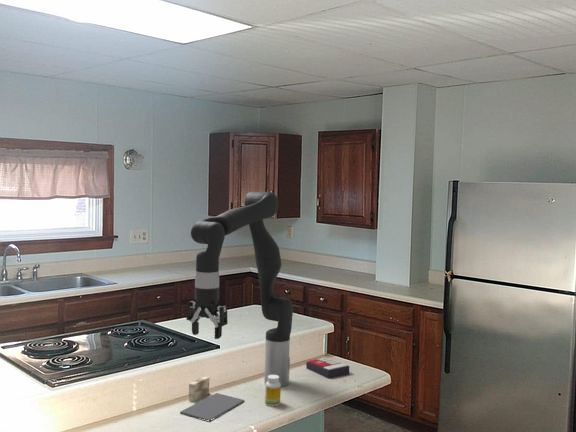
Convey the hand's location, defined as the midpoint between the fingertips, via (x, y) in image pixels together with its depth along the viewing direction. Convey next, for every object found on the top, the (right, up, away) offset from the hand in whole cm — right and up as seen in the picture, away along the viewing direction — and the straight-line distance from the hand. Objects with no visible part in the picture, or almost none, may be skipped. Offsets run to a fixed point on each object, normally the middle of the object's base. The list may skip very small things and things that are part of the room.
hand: (206, 336), depth 178 cm
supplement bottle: (+20, -28, +19) cm, 39 cm away
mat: (0, -27, +14) cm, 30 cm away
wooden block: (-6, -26, +23) cm, 36 cm away
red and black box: (+42, -27, +55) cm, 74 cm away
